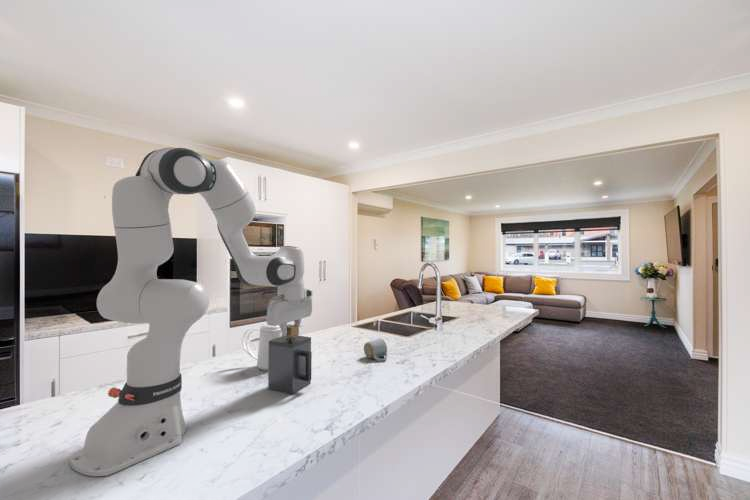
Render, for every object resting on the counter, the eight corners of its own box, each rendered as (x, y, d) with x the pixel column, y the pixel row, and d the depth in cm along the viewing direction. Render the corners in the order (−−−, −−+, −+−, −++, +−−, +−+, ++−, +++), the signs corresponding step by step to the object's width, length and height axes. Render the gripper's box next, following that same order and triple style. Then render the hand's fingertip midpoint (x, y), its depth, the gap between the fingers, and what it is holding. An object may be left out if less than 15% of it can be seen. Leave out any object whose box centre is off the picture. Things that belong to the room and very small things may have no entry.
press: (300, 396, 106) (301, 345, 106) (268, 389, 112) (268, 340, 112) (318, 385, 115) (318, 338, 115) (287, 379, 121) (288, 334, 121)
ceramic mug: (362, 356, 147) (362, 339, 147) (377, 353, 152) (377, 336, 152) (376, 363, 139) (376, 345, 139) (391, 360, 143) (392, 342, 143)
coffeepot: (298, 372, 127) (298, 323, 127) (235, 369, 130) (236, 321, 130) (307, 363, 138) (307, 317, 138) (249, 360, 140) (249, 316, 141)
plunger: (291, 387, 110) (292, 329, 110) (275, 383, 112) (275, 327, 113) (304, 380, 116) (304, 325, 116) (288, 377, 119) (288, 323, 119)
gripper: (277, 297, 104) (277, 342, 103) (315, 290, 122) (315, 328, 122) (261, 296, 106) (261, 340, 106) (301, 290, 125) (300, 327, 125)
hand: (290, 333), depth 114 cm, fingers closed on plunger, 4 cm apart
